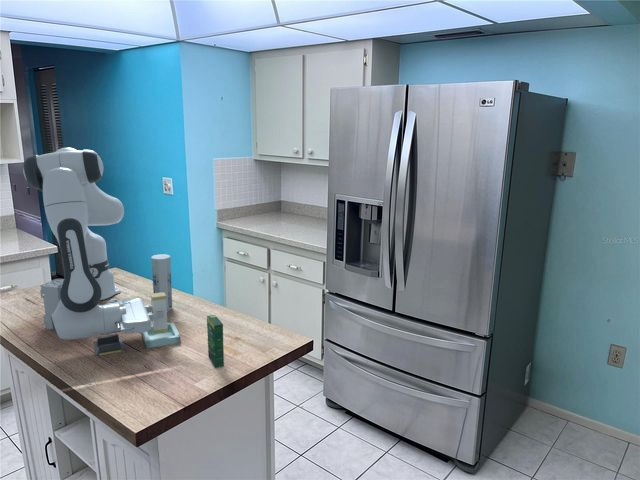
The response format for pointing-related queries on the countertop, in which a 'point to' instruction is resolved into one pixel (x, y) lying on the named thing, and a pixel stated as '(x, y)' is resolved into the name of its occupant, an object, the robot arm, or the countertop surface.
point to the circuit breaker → (51, 299)
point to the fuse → (159, 305)
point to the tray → (161, 337)
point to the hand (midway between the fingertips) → (162, 311)
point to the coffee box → (215, 341)
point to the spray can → (162, 277)
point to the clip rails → (108, 345)
